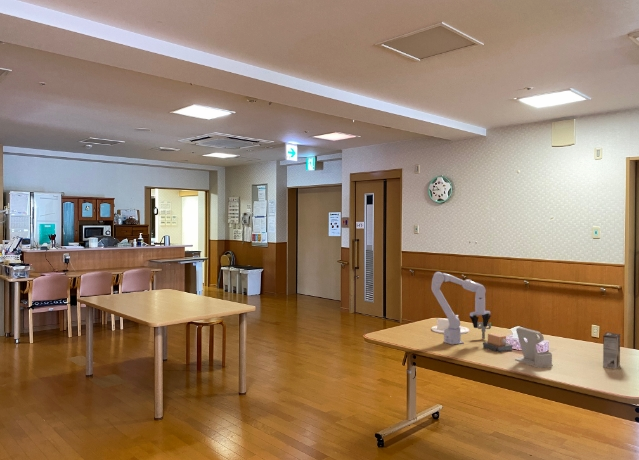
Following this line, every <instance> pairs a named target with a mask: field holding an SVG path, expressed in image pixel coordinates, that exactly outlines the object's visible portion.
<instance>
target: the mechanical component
mask: <svg viewBox="0 0 639 460" xmlns="http://www.w3.org/2000/svg"><path fill="white" fill-rule="evenodd" d="M492 326H493V323H492V322H488V324H487V327H484V326H483V321H481V322H480V321H478V322H477V328H476V329H478V330H481V332H482V333H481V334H482V335H481V338H482V339H483V340H484V339H485V338H486V330H491V329H492Z"/></svg>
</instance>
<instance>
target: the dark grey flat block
mask: <svg viewBox="0 0 639 460" xmlns="http://www.w3.org/2000/svg"><path fill="white" fill-rule="evenodd" d="M482 345H483V348H484V349H486V350H489V351H491V352H494V353H495V352H496V353H503V352H510V351H513V347H514V346H513V344H510V343H507V342H506V345H501V346H498V345H495V344H492V343H488V341H484V342H482Z"/></svg>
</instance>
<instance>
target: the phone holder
mask: <svg viewBox="0 0 639 460" xmlns="http://www.w3.org/2000/svg"><path fill="white" fill-rule="evenodd" d="M515 330H516V334H517V338H518V341H519V343H520V344H519V345H520V349H521V352H522V354H523V355H522V356H521V357H515V358H514V359H515V361H517V362H520V363H522V364H526V365H528V366H532V367H535V368H538V367H539V368H538V369H543V367H544V368H549V367H548V366H550V367H553V365H554V364H553V353H552V352H551V351H550V352H549V351H541V352H540V351H539V352H538V349H537V345H539V344H540V343H542V342H543V341H544V340H545V339H544V335H543V334H542V333H541V332H540V331H538V330H534V329H530V328H526V327H522V326H518V327H517V328H516V329H515ZM526 340H527V341H526Z"/></svg>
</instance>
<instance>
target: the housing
mask: <svg viewBox="0 0 639 460" xmlns="http://www.w3.org/2000/svg"><path fill="white" fill-rule="evenodd" d="M487 342H488V343H492V344H495V345H498V346H501V345H506V343H507V336H506V335H503V334H499V333H496V332H492V333H491V332H490V333H487Z"/></svg>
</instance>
